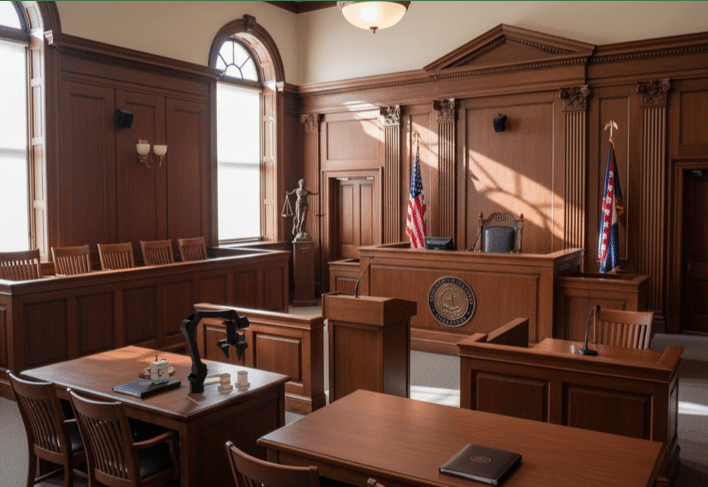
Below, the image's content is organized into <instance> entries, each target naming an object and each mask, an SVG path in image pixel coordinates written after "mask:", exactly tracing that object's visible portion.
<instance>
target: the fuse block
mask: <svg viewBox="0 0 708 487" xmlns="http://www.w3.org/2000/svg"><path fill="white" fill-rule="evenodd" d="M230 387H231V390H226V391H223V387H221V386H220V384H219V385H217V388H215V390H216V391H218V392H220V393H222V394H223V393H228V392H233V391H240V390H243V389H249V388H253V386H252V385H251V382H249V381H248V387H243V388H241V384H239V383H238V382H237V381H236V382H234V385H232V384H230Z"/></svg>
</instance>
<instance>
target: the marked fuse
mask: <svg viewBox="0 0 708 487" xmlns="http://www.w3.org/2000/svg"><path fill="white" fill-rule="evenodd" d="M219 374H220V383H219V386H221V387H223V391H226V390H231V387H230V384H231V382H232V381H231V377H232V376H231V375H232V374H230V373H228V372H226V373H219ZM231 385H232V384H231Z"/></svg>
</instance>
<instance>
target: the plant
mask: <svg viewBox="0 0 708 487" xmlns="http://www.w3.org/2000/svg"><path fill="white" fill-rule="evenodd" d="M160 360H165V361H168V360H167V359H166V358H162V359H161V358H160ZM156 361H159V360H158V353H157V354H155V359H154V361H153V362H156ZM148 364H149V366H147V367H144V368H142V369H141V371H139V372H138V373H139V375H138V376H139V377H140V378H142V379H147V378H146V377H150V376H151V363H150V362H149V363H148ZM174 374H176V369H175V368H174V367H173V366H171V365H169V377H171V376H174Z"/></svg>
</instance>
